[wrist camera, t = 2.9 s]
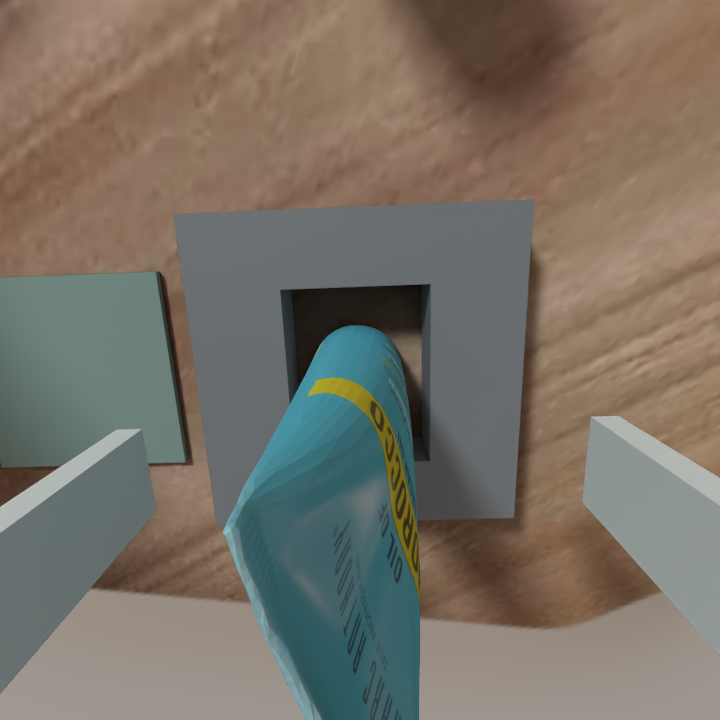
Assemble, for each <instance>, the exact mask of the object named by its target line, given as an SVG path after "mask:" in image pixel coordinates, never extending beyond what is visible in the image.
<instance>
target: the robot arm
mask: <svg viewBox="0 0 720 720" xmlns="http://www.w3.org/2000/svg"><path fill="white" fill-rule="evenodd" d="M582 502H583V503H584V504H585V506H586V507H587V508H588V509H589V510H590V511H591V512H592V513H593V515H594V516H595V517H596V518H597V519H598V520H599V521H600V522H601V523H602V525H603V526H604V527H605V528H606V529H607V530H608V531H609V532H610V534H611V535H612V536H613V537H614V538H615V539H616V540H617V541H618V542H619V544H620V545H621V546H622V547H623V548H624V549H625V550H626V551H627V553H628V554H629V555H630V556H631V557H632V558H633V559H634V560H635V561H636V563H637V564H638V565H639V566H640V567H641V568H642V569H643V570H644V572H645V573H646V574H647V575H648V576H649V577H650V578H651V579H652V580H653V582H654V583H655V584H656V585H657V586H658V587H659V588H660V589H661V591H662V592H663V593H664V594H665V595H666V596H667V597H668V598H669V599H670V601H671V602H672V603H673V604H674V605H675V606H676V607H677V608H678V610H680V612H681V613H682V614H683V615H684V616H685V617H686V618H687V620H688V621H689V622H690V623H691V624H692V625H693V626H694V627H695V629H696V630H698V632H699V633H700V634H701V635H702V636H703V637H704V638H705V640H706V641H707V642H708V643H709V644H710V645H711V646H712V648H713V649H714V650H715V651H716V652H717V653H718V654H719V655H720V478H719V477H717V476H715V475H714V474H712V473H710V472H709V471H707V470H706V469H704V468H702V467H701V466H699V465H697V464H696V463H694V462H692V461H691V460H689V459H688V458H686V457H684V456H683V455H681V454H679V453H678V452H676V451H675V450H673V449H671V448H670V447H668V446H666V445H665V444H663V443H661V442H660V441H658V440H657V439H655V438H653V437H652V436H650V435H648V434H647V433H645V432H643V431H642V430H640V429H639V428H637V427H635V426H634V425H632V424H630V423H629V422H627V421H626V420H624V419H622V418H621V417H619V416H599V417H591V422H590V432H589V442H588V452H587V461H586V471H585V481H584V490H583V500H582ZM155 512H156V505H155V499H154V494H153V488H152V482H151V477H150V471H149V465H148V460H147V454H146V448H145V442H144V437H143V431H142V429H119V430H115V431H114V432H112V433H111V434H109V435H108V436H106V437H105V438H103V439H102V440H100V441H99V442H97V443H96V444H94V445H93V446H91V447H90V448H88V449H87V450H85V451H84V452H82V453H81V454H79V455H78V456H76V457H75V458H73V459H72V460H70V461H69V462H67V463H66V464H64V465H62V466H61V467H59V468H58V469H56V470H55V471H53V472H52V473H50V474H49V475H47V476H46V477H44V478H43V479H41V480H40V481H38V482H37V483H35V484H34V485H32V486H31V487H29V488H28V489H26V490H25V491H23V492H22V493H20V494H19V495H17V496H16V497H14V498H13V499H11V500H10V501H8V502H7V503H5V504H4V505H2V506H1V507H0V693H1V692H2V691H3V690H4V689H5V688H6V687H7V685H8V684H9V683H10V682H11V681H12V680H13V678H14V677H15V676H16V675H17V674H18V672H19V671H20V670H21V669H22V668H23V667H24V665H25V664H26V663H27V662H28V661H29V660H30V658H31V657H32V656H33V655H34V654H35V653H36V651H37V650H38V649H39V648H40V647H41V645H42V644H43V643H44V642H45V641H46V640H47V639H48V637H49V636H50V635H51V634H52V633H53V632H54V630H55V629H56V628H57V627H58V626H59V624H60V623H61V622H62V621H63V620H64V619H65V618H66V616H67V615H68V614H69V613H70V612H71V610H72V609H73V608H74V607H75V606H76V605H77V603H78V602H79V601H80V600H81V599H82V598H83V596H84V595H85V594H86V593H87V592H88V591H89V589H90V588H91V587H92V586H93V585H94V584H95V582H96V581H97V580H98V579H99V578H100V577H101V575H102V574H103V573H104V572H105V571H106V570H107V568H108V567H109V566H110V565H111V564H112V563H113V561H114V560H115V559H116V558H117V557H118V555H119V554H120V553H121V552H122V551H123V550H124V548H125V547H126V546H127V545H128V544H129V543H130V541H131V540H132V539H133V538H134V537H135V536H136V534H137V533H138V532H139V531H140V530H141V529H142V527H143V526H144V525H145V524H146V523H147V522H148V520H149V519H150V518H151V517H152V516H153V515H154V513H155Z"/></svg>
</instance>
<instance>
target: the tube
mask: <svg viewBox="0 0 720 720" xmlns="http://www.w3.org/2000/svg"><path fill="white" fill-rule="evenodd" d="M223 534H224V536H225V537H226V540H227V542H228V545H229V548H230V550H231V553H232V556H233V559H234V562H235V564H236V567H237V570H238V572H239V574H240V577H241V579H242V581H243V583H244V586H245V588H246V591H247V593H248V596H249V599H250V602H251V604H252V607H253V610H254V612H255V615H256V618H257V620H258V623H259V625H260V628H261V630H262V633H263V635H264V637H265V639H266V641H267V643H268V646H269V648H270V649H271V651H272V653H273V655H274V657H275V659H276V661H277V663H278V666H279V668H280V670H281V672H282V674H283V676H284V678H285V680H286V682H287V684H288V686H289V688H290V690H291V692H292V694H293V696H294V697H295V699H296V701H297V703H298V705H299V707H300V708H301V710H302V712H303V714H304V716H305V718H306V720H419V666H420V565H419V541H418V519H417V501H416V485H415V469H414V455H413V441H412V430H411V419H410V411H409V403H408V396H407V390H406V384H405V378H404V373H403V368H402V364H401V359H400V356H399V353H398V351H397V348H396V347H395V345H394V344H393V342H392V341H391V340H390V339H389V338H388V336H386V335H385V334H384V333H383V332H381V331H379V330H377V329H375V328H373V327H370V326H366V325H349V326H344V327H342V328H339V329H337V330H335V331H334V332H332V333H331V334H330V335H328V336H327V337H326V338H325V339H324V341H323V342H322V343H321V345H320V346H319V348H318V350H317V352H316V354H315V356H314V358H313V360H312V362H311V364H310V367H309V369H308V371H307V373H306V375H305V377H304V379H303V380H302V382H301V384H300V386H299V388H298V390H297V392H296V394H295V396H294V398H293V400H292V402H291V403H290V405H289V407H288V409H287V411H286V413H285V414H284V416H283V418H282V420H281V422H280V424H279V425H278V427H277V429H276V431H275V433H274V435H273V437H272V438H271V440H270V442H269V444H268V446H267V448H266V450H265V451H264V453H263V455H262V457H261V459H260V460H259V462H258V463H257V465H256V467H255V468H254V470H253V472H252V473H251V475H250V476H249V478H248V480H247V482H246V484H245V485H244V487H243V489H242V492H241V494H240V497H239V499H238V502H237V504H236V506H235V508H234V510H233V512H232V513H231V515H230V517H229V519H228V521H227V523H226V526H225V528H224V531H223Z"/></svg>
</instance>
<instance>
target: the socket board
mask: <svg viewBox="0 0 720 720" xmlns="http://www.w3.org/2000/svg"><path fill="white" fill-rule="evenodd" d="M533 205H534V199H531V200H507V201H482V202H458V203H433V204H409V205H384V206H360V207H336V208H311V209H287V210H262V211H238V212H213V213H189V214H173V218H174V225H175V232H176V239H177V246H178V253H179V260H180V267H181V274H182V282H183V289H184V296H185V303H186V310H187V317H188V324H189V331H190V338H191V345H192V352H193V359H194V367H195V374H196V381H197V388H198V395H199V402H200V409H201V416H202V423H203V430H204V437H205V444H206V452H207V459H208V466H209V473H210V480H211V487H212V494H213V501H214V508H215V515H216V522H217V526H226V523H227V521H228V519H229V517H230V515H231V513H232V512H233V510H234V508H235V506H236V504H237V502H238V499H239V497H240V494H241V492H242V489H243V487H244V485H245V484H246V482H247V480H248V478H249V476H250V475H251V473H252V472H253V470H254V468H255V467H256V465H257V463H258V462H259V460H260V459H261V457H262V455H263V453H264V451H265V450H266V448H267V446H268V444H269V442H270V440H271V438H272V437H273V435H274V433H275V431H276V429H277V427H278V425H279V424H280V422H281V420H282V418H283V416H284V414H285V413H286V411H287V409H288V407H289V405H290V403H291V402H292V400H293V398H294V396H295V394H296V392H297V390H298V388H299V379H298V366H297V353H296V340H295V327H294V314H293V301H292V289H313V288H340V287H366V286H393V285H420V284H422V436H418V437H412V441H413V455H414V469H415V485H416V501H417V519H418V521H425V520H462V519H499V518H514V510H515V494H516V478H517V462H518V446H519V429H520V413H521V397H522V381H523V365H524V349H525V333H526V317H527V301H528V285H529V269H530V253H531V237H532V221H533Z"/></svg>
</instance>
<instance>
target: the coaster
mask: <svg viewBox="0 0 720 720" xmlns="http://www.w3.org/2000/svg"><path fill="white" fill-rule="evenodd" d="M119 429H142V431H143V437H144V442H145V448H146V454H147V460H148V463H177V462H186V461H187V460H188V454H187V448H186V441H185V435H184V428H183V422H182V415H181V409H180V402H179V396H178V389H177V383H176V376H175V370H174V363H173V357H172V350H171V344H170V337H169V331H168V324H167V318H166V311H165V305H164V298H163V292H162V285H161V279H160V272H137V273H111V274H85V275H59V276H33V277H7V278H0V462H1V465H2V468H11V467H45V466H62V465H64V464H66V463H67V462H69V461H70V460H72V459H73V458H75V457H76V456H78V455H79V454H81V453H82V452H84V451H85V450H87V449H88V448H90V447H91V446H93V445H94V444H96V443H97V442H99V441H100V440H102V439H103V438H105V437H106V436H108V435H109V434H111V433H112V432H114V431H115V430H119Z"/></svg>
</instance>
